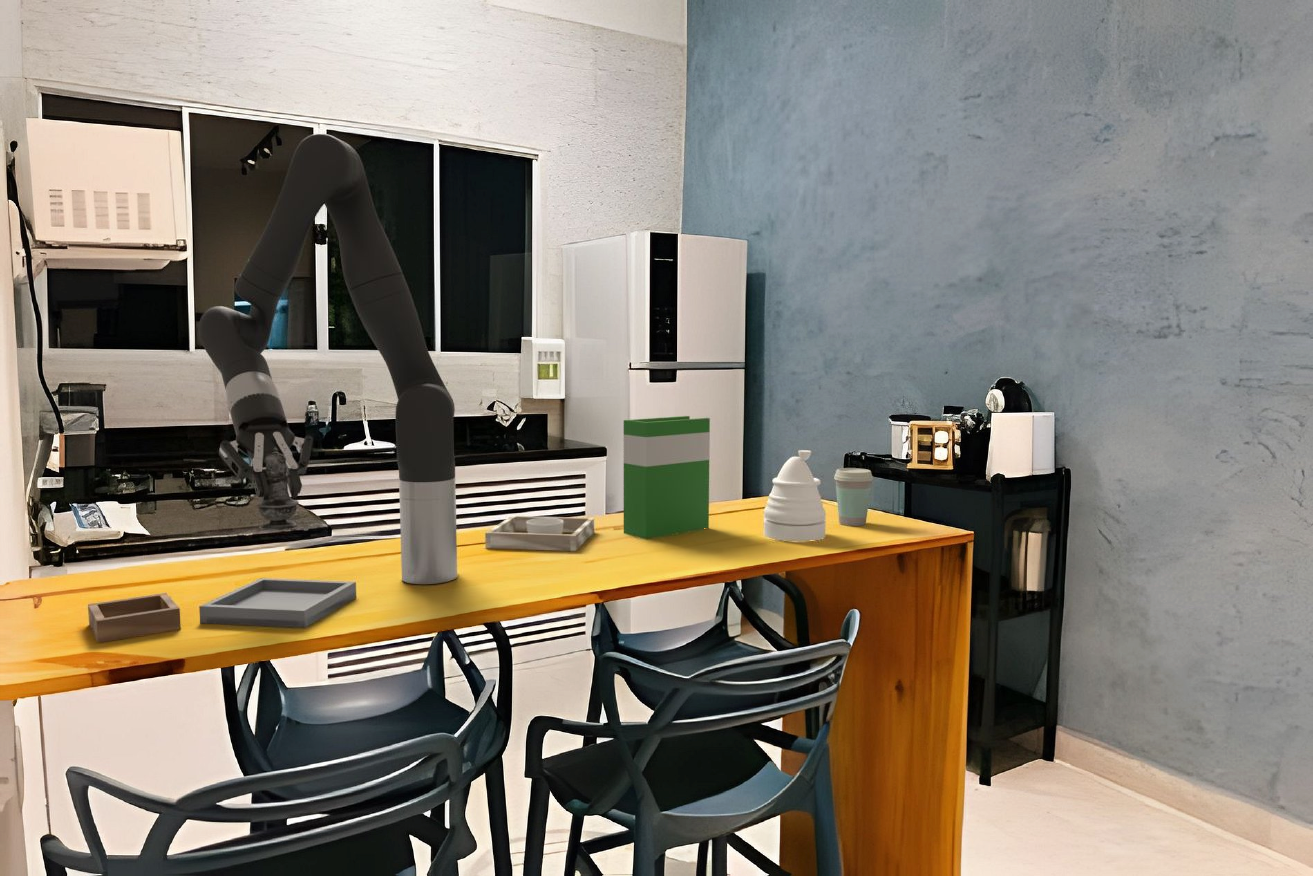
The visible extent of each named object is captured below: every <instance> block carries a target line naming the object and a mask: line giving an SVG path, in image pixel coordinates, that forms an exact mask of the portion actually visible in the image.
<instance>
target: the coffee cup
mask: <svg viewBox="0 0 1313 876" xmlns="http://www.w3.org/2000/svg"><path fill="white" fill-rule="evenodd" d="M833 476H834V477H833V479H834V480H835V491H836V492H835V493H836V501H837V515H838V522H839V524H840V525H843V526H847V527H848V526H850V527H862V526H865V525H867V518H868V510H869V505H870V504H869V503H870V496H871V490H872V489H871V488H872V482H873V481H874V479H873V478H874V476H873V475H872V471H871V470H870V469H866V468H858V467H857V468H856V467H845V468H843V467H842V468H838V469H836V471H835V474H834V475H833Z"/></svg>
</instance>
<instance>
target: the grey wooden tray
mask: <svg viewBox="0 0 1313 876" xmlns="http://www.w3.org/2000/svg"><path fill="white" fill-rule="evenodd" d="M536 518H557V519H561V520H563V521H564V523H563V531H562V534H538V533H528V531H527V523H526V522H527V521H528V520H531V519H536ZM573 532H574V533H573ZM564 533H566V534H564ZM567 533H571V534H567ZM594 533H595V518H594V517H563V516H559V517H558V516H531V515H530V516H529V515H528V516H525V515H510V516H509V517H507V518H506V519H505V520H503V521H501V522H500V523H498V524H497V525H496V526H494V527H492V528H491V529H489V530H488V531H485V533H484V536H485V537H484V540H485V541H484V542H485V543H484V545H485V549H501V550H502V549H504V550H506V549H508V550H531V551H533V550H534V551H537V550H539V551H559V552H560V551H564V552H569V551H570V552H576V551H578V549H579V548H580V547H581V546H582V545H583V544H584V543H585V542H587V540H588V539H589V538H590V537H591V536H592V535H593V534H594Z"/></svg>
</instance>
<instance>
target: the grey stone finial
mask: <svg viewBox="0 0 1313 876" xmlns="http://www.w3.org/2000/svg"><path fill="white" fill-rule="evenodd" d="M273 450H274V452H273V453H272V454H269V455H268V456H267V457H266V462H265V476H266V480H267V483H268V487H269V490H270V494H269V498H268V500H262V501H259V502H257V503H256V505H255V506H256V507H257V508H258V512H259V515H260V516H261V517H262V518H263V519H265V520H266V521H267V522H263V523H262V524H261V525H259V527H258V528H259V529H260V530H263V531H282V530H283V531H284V530H291V529H294V528H297V527H298V523H296V522H294V521H293V520H289V519H291V518H292V517H293V516H294V515H295V514H296V511H297V505H299V501H298V500H296V499H292V497H290V496H291V495H290V494H289V493H290V492H289V487H288V483H287V480H288V479H289V476H287V472H286V457H285V456H284V455H283V454H280V453H279V452H277V450H278V449H277V448H276V447H275V448H274V449H273Z"/></svg>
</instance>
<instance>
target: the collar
mask: <svg viewBox="0 0 1313 876" xmlns="http://www.w3.org/2000/svg"><path fill="white" fill-rule="evenodd" d="M87 611H88V623H89V624H88V626H89V627H90V629H91V631H92V633H93V635H94V637H95V639H96V641H97V643H98V644H100V643H106V642H112V641H119V640H124V639H130V638H137V637H141V636H148V635H153V634H154V635H155V634H161V633H167V632H173V631H178V630H181V629H182V628H181V627H182V626H181V625H182V624H181V612H180V611H181V610H180V607H179V605H177V603H175V601H174V600H173V599H172V598H171V597H170V596H169V594H168V593H167V592H165V593H164V592H163V593H156V594H149V595H142V596H135V597H130V598H122V599H115V600H110V601H109V600H108V601H100V602H94V603H88V604H87Z"/></svg>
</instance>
